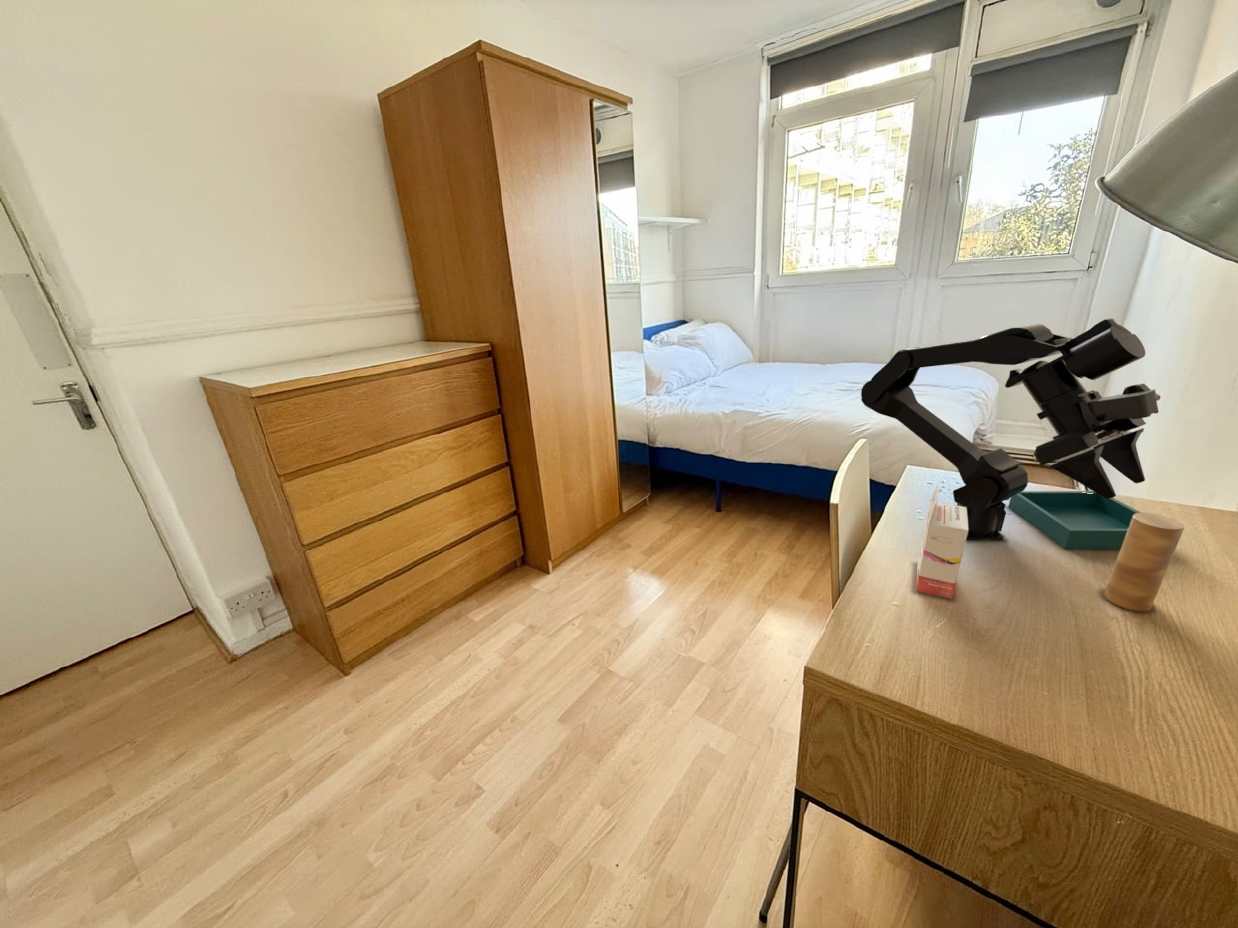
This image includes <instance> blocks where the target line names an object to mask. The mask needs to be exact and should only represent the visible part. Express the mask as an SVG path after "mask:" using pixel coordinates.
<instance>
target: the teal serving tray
mask: <svg viewBox="0 0 1238 928" xmlns="http://www.w3.org/2000/svg"><path fill="white" fill-rule="evenodd" d="M1082 492H1086V493H1082ZM1087 493H1093V494H1087ZM1007 507H1008V509H1010V510H1011V511H1012V512H1013V513H1015V514H1017V515H1018V516H1019V517H1021V518H1022V519H1023V520H1025V521H1026V522H1028V523H1029V524H1030V525H1032V526H1033V527H1034V528H1036V529H1037V530H1039V531H1040V532H1042V533H1043V534H1044V535H1045V536H1047V537H1048V538H1050V539H1051V540H1052V541H1054V542H1055V543H1056V544H1058V546H1060V547H1062V548H1063V549H1065V550H1067V549H1070V550H1072V549H1073V550H1074V549H1079V550H1081V549H1084V550H1086V549H1087V550H1120V549H1121V547H1122V544H1123V541H1124V538H1125V536H1126V533H1127V530H1128V528H1129V525H1130V522H1131V519H1132V517H1133V515H1134V514H1135V513H1142V512H1141V511H1139V510H1137V509H1135V508H1133V507H1132V506H1129V505H1127V504H1126V503H1124V502H1122V501H1120V500H1118V499H1116V498H1115V497H1113V498H1109V499H1106V498H1104V497H1102V496H1101V495H1099V494H1097V493H1096V492H1094V491H1092V490H1059V491H1058V490H1057V491H1056V490H1048V491H1047V490H1039V491H1036V490H1035V491H1034V490H1033V491H1032V490H1031V491H1030V490H1029V491H1027V490H1026V491H1025V490H1023V491H1022V492H1020V493H1018V494H1016V495H1014V496H1011V497H1010V499H1009V502H1008V506H1007Z"/></svg>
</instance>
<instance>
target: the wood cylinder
mask: <svg viewBox="0 0 1238 928" xmlns="http://www.w3.org/2000/svg"><path fill="white" fill-rule="evenodd" d="M1185 526H1186V525H1185V524H1184V523H1183V522H1181V521H1179V520H1178V519H1175V518H1173V517H1170V516H1167V515H1162V514H1158V513H1154V512H1153V513H1152V512H1141V513H1135V514H1134V515H1133V517H1132V519H1131V522H1130V525H1129V528H1128V530H1127V533H1126V536H1125V538H1124V541H1123V544H1122V547H1121V549H1119V551H1118V555H1117V558H1116V560H1115V563H1114V565H1113V569H1112V571H1111V574H1110V577H1109V580H1108V582H1107V585H1106V588H1105V591H1104V597H1105V599H1106V600H1107V601H1108V602H1110V603H1112V604H1114V605H1116V606H1117V607H1120V608H1123V609H1126V610H1130V611H1134V612H1148V611H1150V610H1152V607H1153V605H1154V602H1155V599H1156V597H1157V594H1158V593H1159V590H1160V587H1161V585H1162V583H1163V580H1164V578H1165V576H1166V573H1167V571H1168V569H1169V566H1170V563H1171V561H1172V559H1173V556H1174V554H1175V552H1176V549H1177V548H1178V547H1177V546H1178V545H1179V542H1180V539H1181V537H1182V534H1183V532H1184V530H1185Z"/></svg>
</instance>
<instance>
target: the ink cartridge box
mask: <svg viewBox="0 0 1238 928" xmlns="http://www.w3.org/2000/svg"><path fill="white" fill-rule="evenodd" d="M937 500H938V485H935V487H934V490H933V493H932V497H931V500H930V502H929V507H928V511H927V516H926V519H925V520H926V521H925V526H924V531H923V536H922V539H921V540H922V541H921V546H920V551H919V554H918V560H917V569H916V572H917V573H916V592H920V593H924V594H928V595H933V596H937V597H942V598H945V599H949V600H952V599H953V595H954V592H955V587H956V584H957V579H958V575H959V570H960V566H961V562H962V557H963V554H964V549H965V546H966V542H967V539H966V538H967V535H968V516H967V508H966V507H962V506H957V504H956V505H955V504H949V503H942V502H937Z"/></svg>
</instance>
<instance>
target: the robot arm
mask: <svg viewBox="0 0 1238 928" xmlns="http://www.w3.org/2000/svg"><path fill="white" fill-rule="evenodd" d="M1060 354H1061V356H1059V357H1057V358H1055V359H1052V360H1051V361H1047V360H1041V359H1043V358H1047V357H1052V356H1055V355H1060ZM1144 357H1146V349H1145V346H1144V344H1143V342H1142V341H1141V339H1140V338H1139V337H1138V336H1137V334H1135V333H1132V332H1131V331H1130V330H1128V328H1126V327H1125V326H1123V325H1121V324H1118V323H1117V321H1116V320H1115V319H1114V318H1112V317H1110V318H1104V319H1102V320H1100V321H1099V322H1097V323H1095V324H1094V325H1092V326H1091V327H1090V328H1089V329H1087V330H1086V331H1084V332H1082V333H1080V334H1079V335H1077V336H1075V337H1073V338H1072V337H1068V336H1065V335H1061V334H1056V333H1053V332H1052V330H1051V329H1050V328H1048V327H1047V326H1046V325H1044V324H1042V323H1030V324H1026V325H1020V326H1014V327H1010V328H1006V329H1003V330H1000V331H997V332H993V333H990V334H987V335H985V336H982V337H979V338H976V339H969V340H964V341H957V342H950V343H944V344H943V343H941V344H936V345H929V346H922V347H918V346H914V347H908V348H902V349H899V350H898V351H897V352H896V353H895V354H894V355H893V356H892V357H891V359H890V360H889V361H888V362H887V363H886V364H885V365H884V366H882V367H881V369H879V370H878V371H877V372H876V373H875V374H873V376H872V378H871V379H870V380H868V381H867V382H865V383H864V384H863V385H862V388H861V390H860V397H861V399H860V400H861V402H862V404H863V405H864V406H865V407H867V408H868V409H870V410H872V411H873V412H875V413H877V414H879V415H882V416H886V417H888V418H892V419H896V420H897V421H898V422H899V423H900V424H901V425H903V426H904V427H906V428H907V430H909V431H910V432H912V433H913V434H914V435H915V436H917V437H918V438H919V439H921V440H922V441H923V442H924V443H925V444H927V445H928V446H929V447H930V448H932V449H933V450H934V451H936V452H937V453H938V454H939V455H941V456H942V457H943V459H945V460H947V461H948V462H949V463H950V464H952V465H953V466H954V467H955V468H956V469H957V470H958V474H959V476H960V478H961V480H962V483H964V485H963V486H960V487H958V488H956V489H954V490H953V491H952V495H953V501H954V503H956V506H962V507H966V508H967V516H968V535H967V538H966V540H997V541H999V540H1001V541H1002V540H1004V538H1005V536H1004V535H1003V534H1001V533H1000V532H1002V530H1003V526H1004V522H1005V519H1006V515H1007V511H1006V509H1005V508H1006V506H1007V504H1006V503H1005V501H1008V500H1010V498H1011V496H1014V495H1016V494H1018V493H1020V492H1022V491H1025V489H1026V488H1027V486H1028V484H1029V478H1028V476H1029V475H1028V474H1029V473H1028V472H1027V470H1026V469H1024V468H1023V467H1022V466H1021V465H1023V461H1020V460H1017V459H1015V458H1013V457H1012V456H1011V455H1010V454H1009V453H1008V452H1007V451H1006V450H1004V449H1002V448H997V449H994V450H991V451H987V450H984V449H981V448H980V447H978V446H977V445H976V444H974V443H973V442H971V441H970V440H969V439H967V438H966V437H965V436H964V435H962V434H961V433H960V432H958V431H957V430H955V429H954V428H953V427H952V426H950V425H949V424H948V423H947V422H944V420H942V419H941V418H940V417H938V416H937V415H935V413H933V412H932V411H931V410H929V409H928V408H926V407H925V406H924V405H922V404H921V403H920V402H919V401H918V400H917V397H916V396H915V393H914V390H913V389H912V388H911V385H912V384H913V383H914V381H915V380H916V377H917V375H918V372H919V370H920V369H921V368H929V367H930V368H931V367H938V366H947V365H956V364H957V365H958V364H965V363H984V364H989V365H1005V366H1016V365H1021V364H1024V363H1029V362H1032V361H1036V360H1037V361H1036V362H1034V363H1033V364H1031V365H1029V366H1027V367H1025V368H1024V369H1021V368H1014V369H1011V370H1009V374H1008V378H1007V380H1006V382H1005V384H1004V387H1005V388H1007V389H1009V388H1013V387H1017V386H1020V385H1023V386H1024V388H1025V389H1026V390H1027V392H1028V394H1029V395H1030V396H1031V398H1032V400H1033V401H1034V402H1035V404H1036V405H1037V406H1038V409H1040V412H1038V413H1036V416H1037V417H1038V419H1039V421H1041V420H1044V419H1046V420H1047V421H1048V423H1049V424H1050V425H1051V427H1052V428H1053V430H1054V431H1055V433H1056V434H1057V435H1055V436H1052V439H1051V440H1049V441H1047V442H1045V443H1042V444H1038V445H1037V446H1036V447H1035V450H1034V452H1033V456H1034V457H1035V459H1036V461H1037V462H1038V464H1039V465H1040V466H1041V467H1042V466H1045V465H1047V464H1050V463H1052V464H1050V465H1048V466H1047V467H1048V468H1049V469H1050V470H1052V469H1053V470H1055V471H1057V472H1059V473H1060V474H1063V475H1065V476H1067V477H1068V478H1070V479H1071V480H1073V481H1075V482H1077V483H1079V484H1081V485H1082V486H1084V487H1085V488H1087V489H1089V490H1090V491H1094V492H1096V493H1097V494H1099V495H1101V496H1102V497H1104V498H1106V499H1109V498H1116V496H1117V494H1116V492H1115V489H1114V487H1113V485H1112V482H1111V481H1110V479H1109V477H1108V475H1107V473H1106V470H1105V469H1104V466H1103V465H1102V463H1101V460H1100V459H1103V460H1104V461H1105V462H1106V463H1107V464H1109V465H1110V466H1111V467H1113V468H1114V469H1115V470H1116V471H1118V472H1119V473H1120V474H1122V475H1123V476H1124V477H1125V478H1127V479H1128V480H1130V481H1131V482H1133V483H1134V484H1140V483H1144V482H1145V481H1146V477H1145V474H1144V471H1143V467H1142V463H1141V460H1140V457H1139V453H1138V448H1137V442H1138V440H1139V437H1140V436H1141V434H1142V433H1143V432H1144V431H1145V430H1144V429H1145V428H1144V427H1142V426H1144V425H1146V424H1147V423H1146V421H1145V420H1144V418H1149V417H1151V416H1152V414H1159V406H1158V401H1159V400H1160V399H1161V395H1160V394H1158V393H1157V392H1156V389H1155V388H1154V389H1150V387H1148V385H1146V383H1138V384H1131V385H1128V386H1126V387H1124V389H1123V391H1122V394H1120V393H1119V394H1115V395H1111V396H1105V397H1103V396H1102V395H1101V394H1100V392H1099V391H1097V390H1094V389H1093V390H1090V391H1089V390H1088V391H1087V389H1086V387H1085V386H1084V385H1083V384H1082V381H1080V379H1083V378H1086V379H1088V380H1091V381H1097V380H1098V379H1100V378H1103V377H1104V376H1105V377H1106V376H1107V375H1109V374H1111V373H1113V372H1115V371H1118V370H1119V369H1121V368H1124V367H1126V366H1128V365H1130V364H1132V363H1134V362H1136V361H1138V360H1140V359H1143V358H1144ZM1140 427H1142V428H1140ZM1137 428H1139V429H1137ZM1133 429H1137V430H1134V431H1132V430H1133ZM1053 462H1054V463H1053Z"/></svg>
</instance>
